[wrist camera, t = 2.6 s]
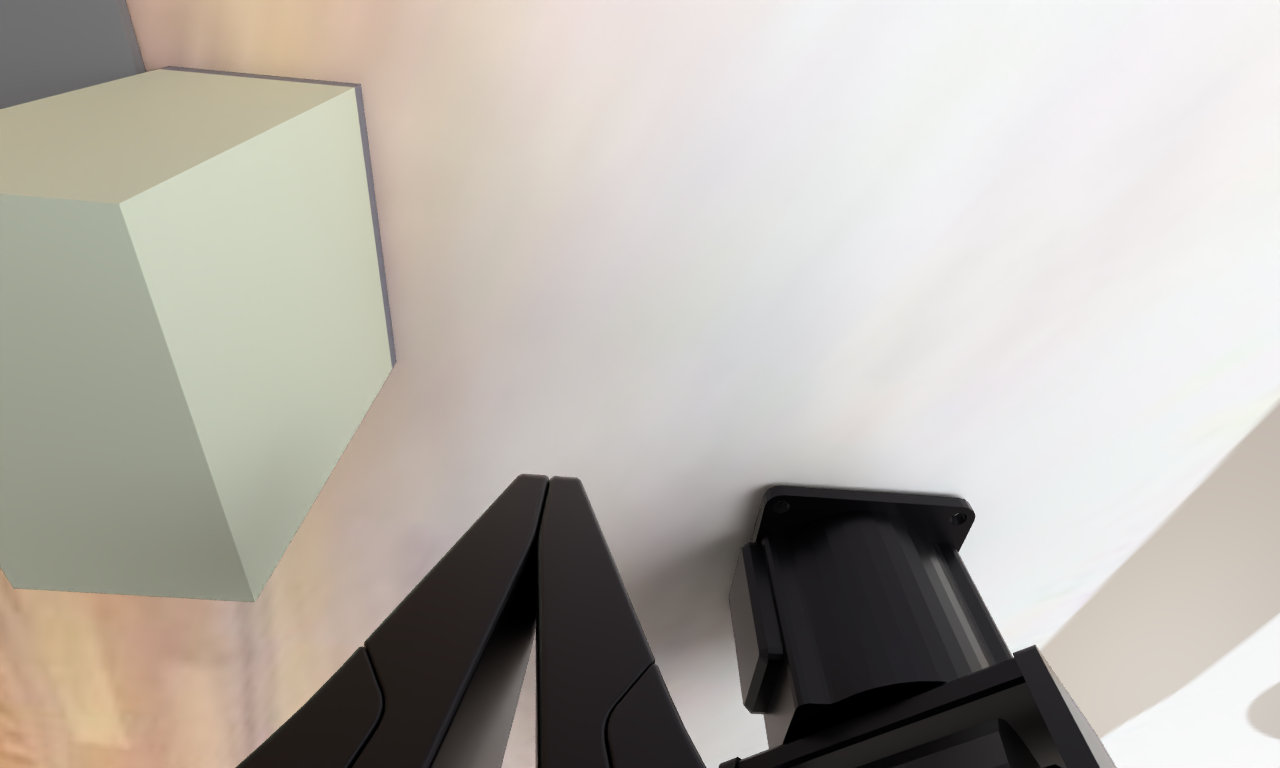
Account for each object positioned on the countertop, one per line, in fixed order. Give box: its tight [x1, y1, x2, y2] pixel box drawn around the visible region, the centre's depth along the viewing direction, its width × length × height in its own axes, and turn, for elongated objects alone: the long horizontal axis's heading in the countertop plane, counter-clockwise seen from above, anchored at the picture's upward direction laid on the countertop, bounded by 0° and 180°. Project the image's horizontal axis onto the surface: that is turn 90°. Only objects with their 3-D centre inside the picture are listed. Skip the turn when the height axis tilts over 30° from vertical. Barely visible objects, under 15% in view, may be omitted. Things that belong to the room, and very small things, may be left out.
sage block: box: [0, 66, 396, 602], centre depth 13 cm, size 4×7×8 cm, turn 175°
